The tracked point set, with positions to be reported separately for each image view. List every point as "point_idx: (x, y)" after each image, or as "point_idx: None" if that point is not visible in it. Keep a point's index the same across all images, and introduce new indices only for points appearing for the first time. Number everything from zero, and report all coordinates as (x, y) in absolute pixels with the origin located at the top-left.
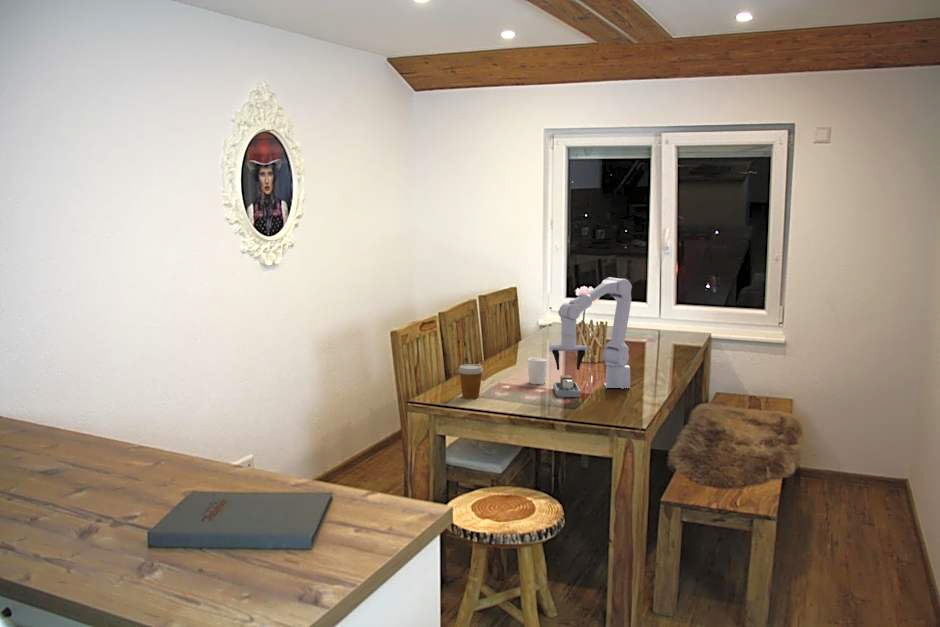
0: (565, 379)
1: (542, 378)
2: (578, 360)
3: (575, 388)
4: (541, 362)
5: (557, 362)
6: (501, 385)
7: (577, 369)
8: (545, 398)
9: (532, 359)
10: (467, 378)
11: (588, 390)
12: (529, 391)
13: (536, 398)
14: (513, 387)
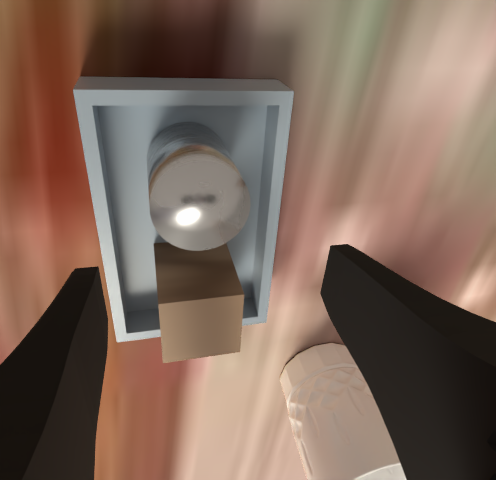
0: (220, 237)
1: (311, 377)
2: (63, 361)
3: (122, 281)
4: (365, 461)
5: (411, 290)
6: (486, 305)
7: (96, 268)
8: (371, 31)
9: None
10: None
11: (25, 278)
12: (407, 216)
13: (433, 32)
14: (452, 282)
